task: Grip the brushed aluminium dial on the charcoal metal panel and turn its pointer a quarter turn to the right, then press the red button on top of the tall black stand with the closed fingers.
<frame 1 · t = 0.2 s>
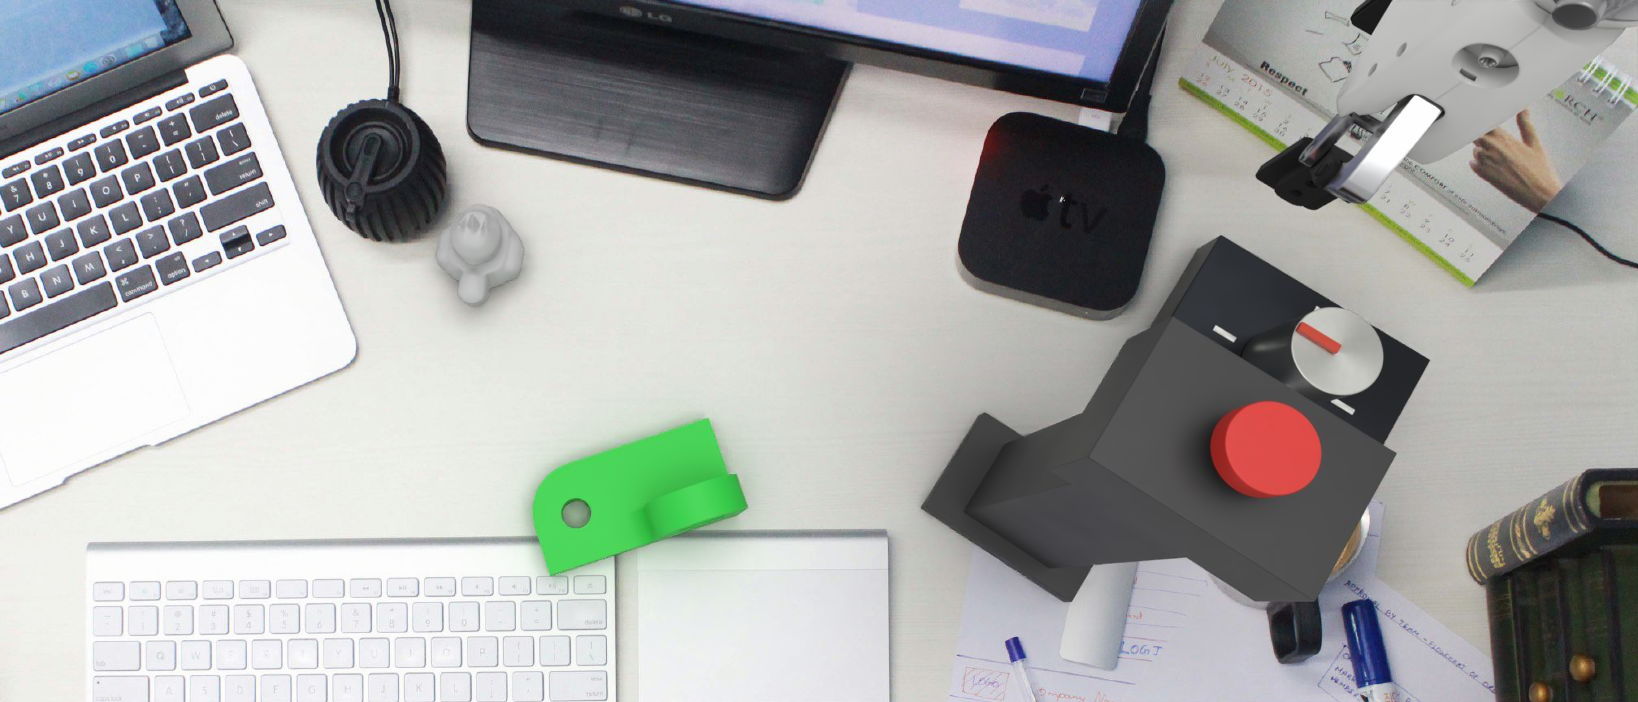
hand: (1332, 110, 58), 19 cm above the table, tool pointing down, fingers open, 9 cm apart
mechanical part: (629, 498, 74), on the table
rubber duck: (483, 268, 77), on the table
dial panel: (1255, 379, 74), on the table
button: (1265, 449, 46), point 28 cm above the table, slide at 0.1 cm
button stand: (1020, 506, 73), on the table
dial: (1310, 360, 68), point 6 cm above the table, hinge at 0.0°
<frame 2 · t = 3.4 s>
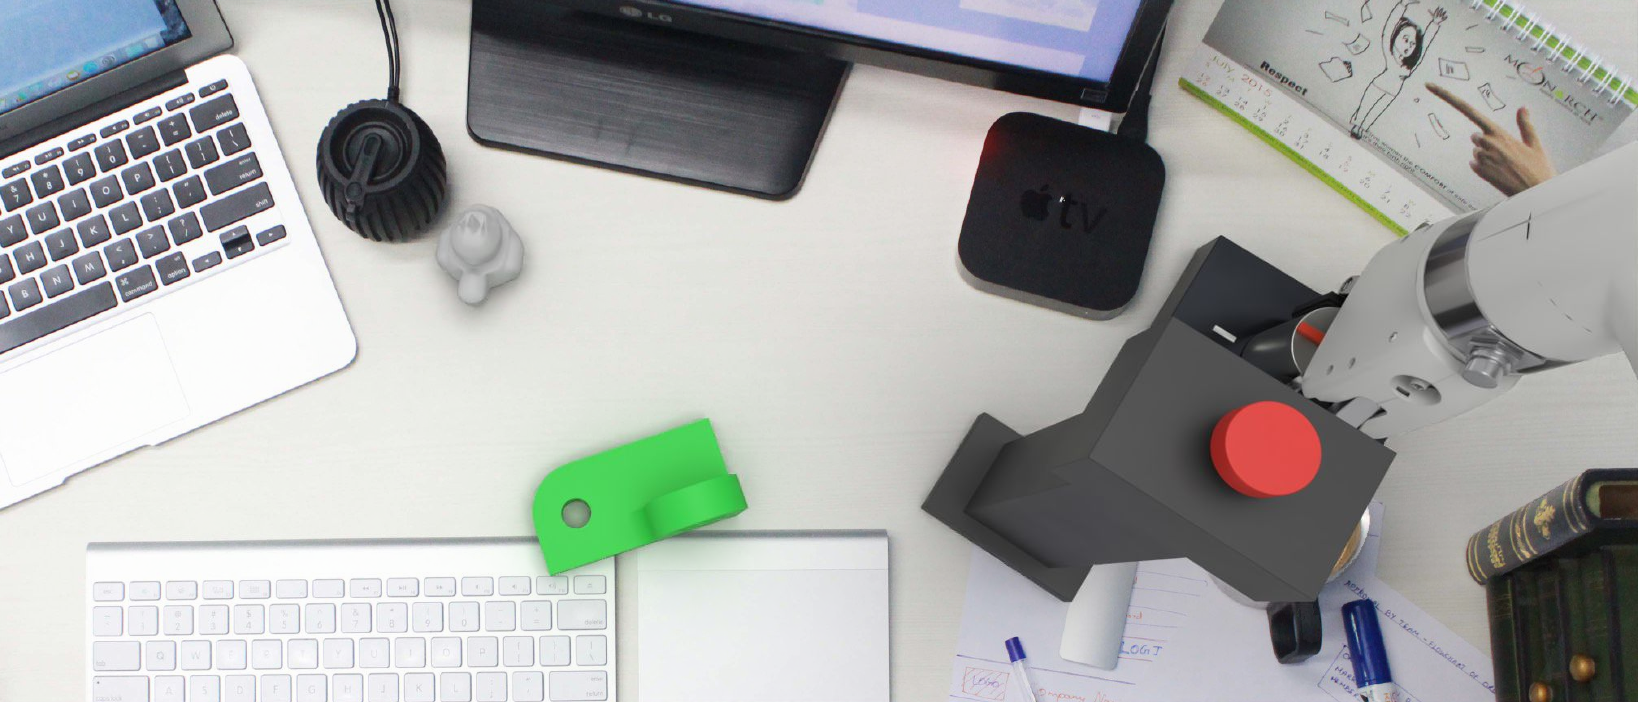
hand: (1293, 365, 70), 4 cm above the table, tool pointing down, fingers closed on dial, 5 cm apart
dial: (1310, 360, 68), point 6 cm above the table, hinge at -0.1°, touching gripper
everything else where it was.
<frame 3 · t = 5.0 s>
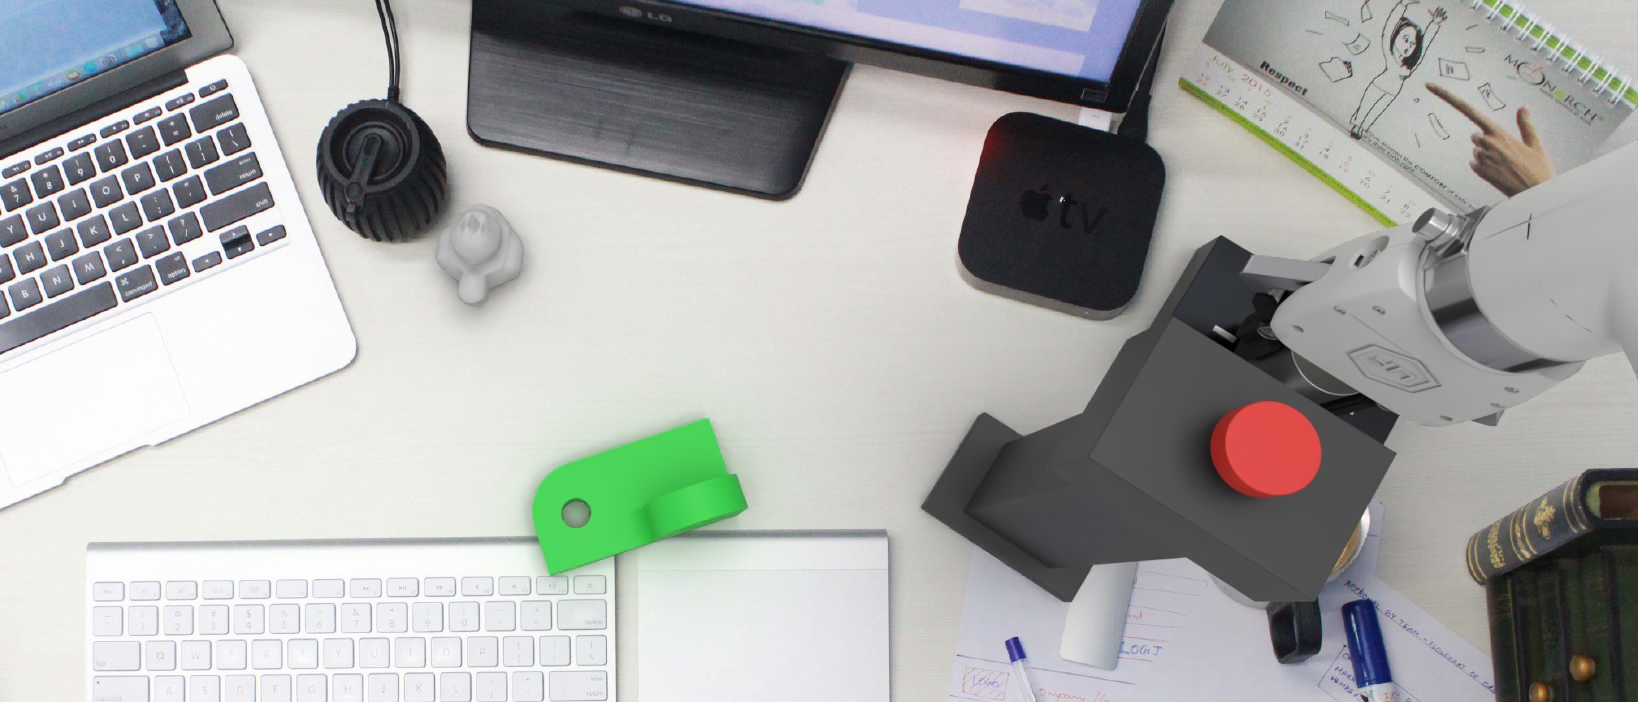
hand: (1293, 365, 70), 4 cm above the table, tool pointing down, fingers closed on dial, 5 cm apart
dial: (1310, 360, 68), point 6 cm above the table, hinge at -90.4°, touching gripper
everything else where it was.
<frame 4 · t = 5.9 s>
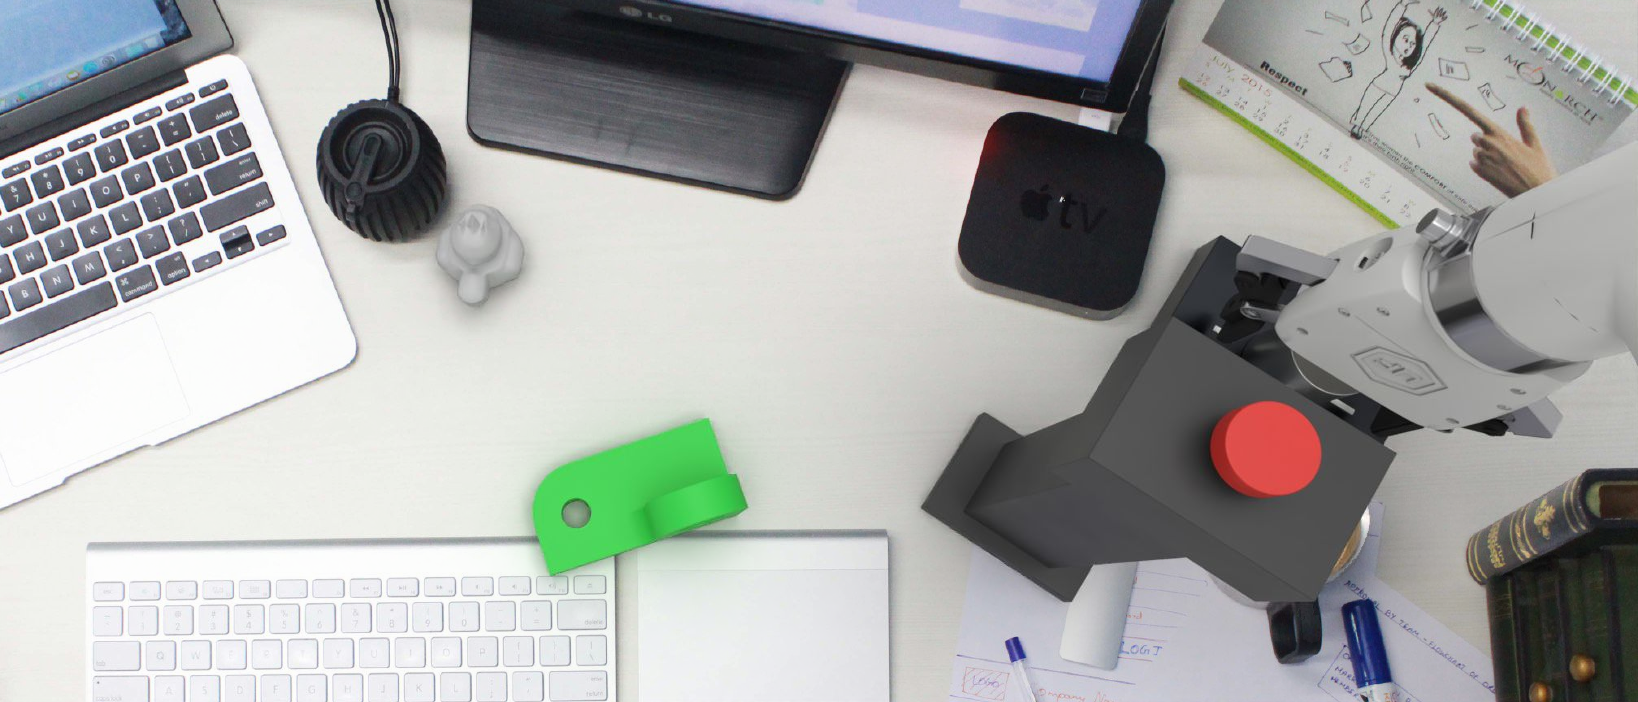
hand: (1307, 366, 69), 5 cm above the table, tool pointing down, fingers open, 9 cm apart
dial: (1310, 360, 68), point 6 cm above the table, hinge at -90.2°
everything else where it was.
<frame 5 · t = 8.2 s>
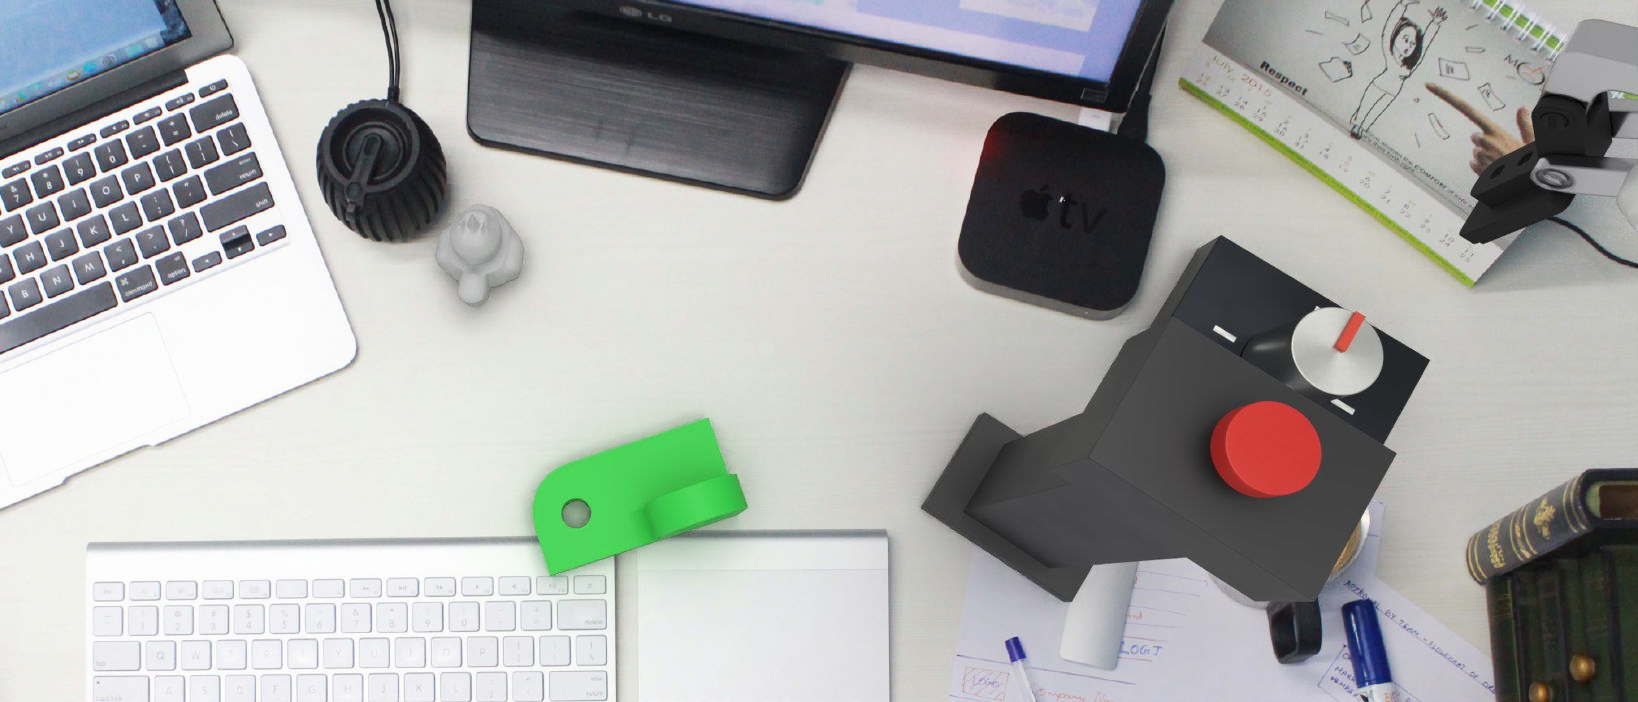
hand: (1617, 287, 40), 34 cm above the table, tool pointing down, fingers open, 9 cm apart
nothing on the table moved.
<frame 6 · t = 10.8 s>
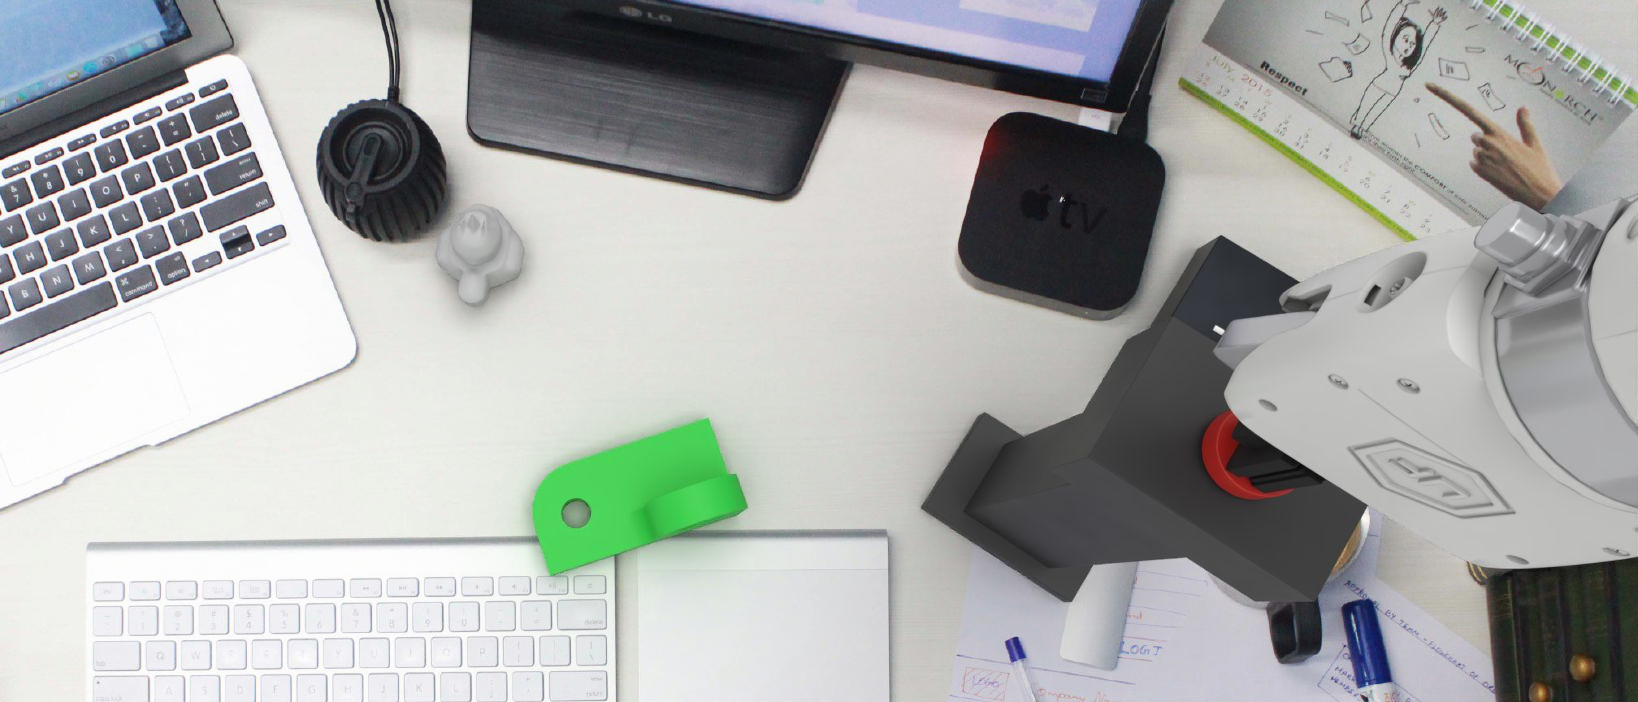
hand: (1261, 448, 46), 28 cm above the table, tool pointing down, fingers closed
button: (1255, 451, 46), point 27 cm above the table, slide at -0.6 cm, touching gripper
everything else where it was.
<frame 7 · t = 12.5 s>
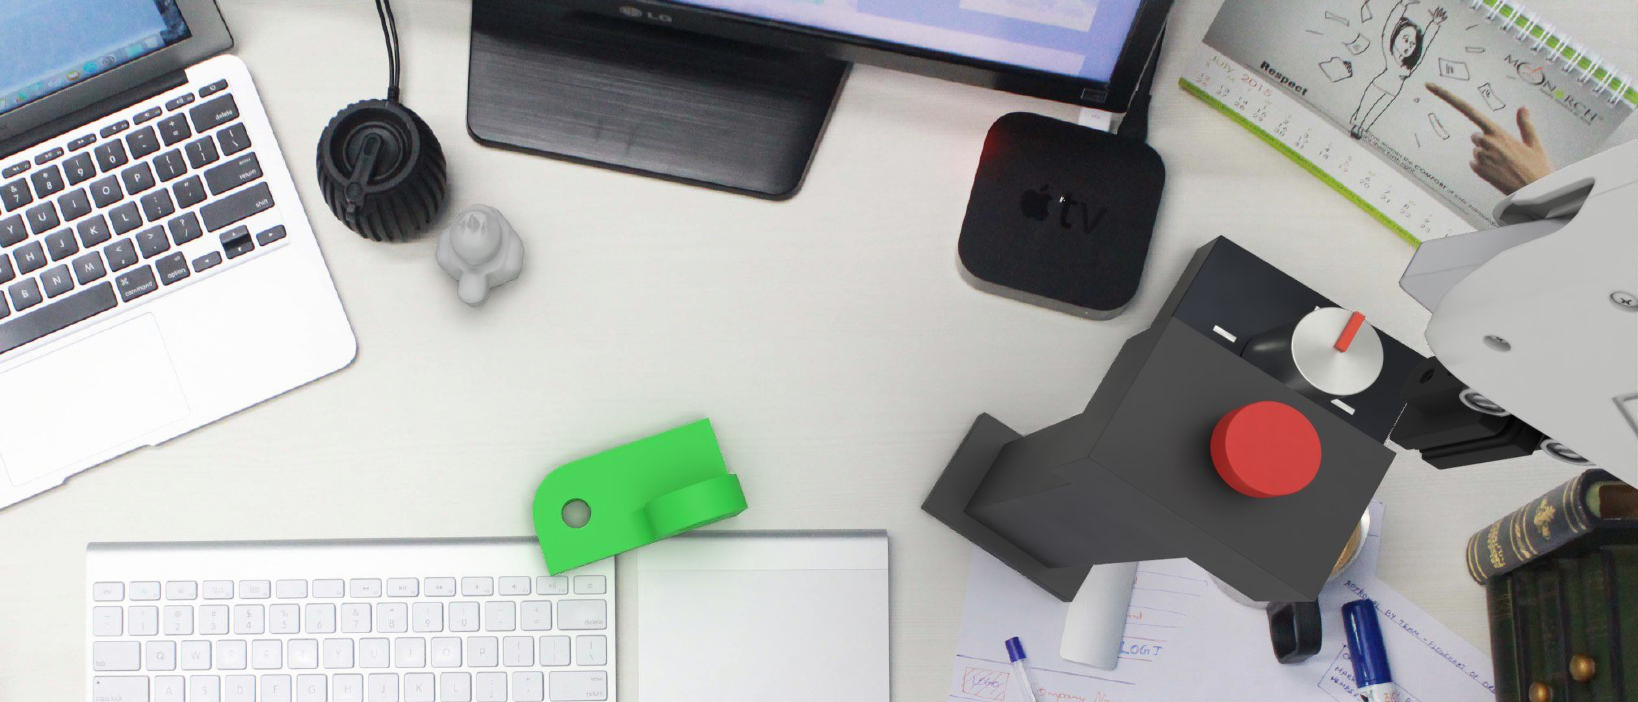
hand: (1433, 413, 37), 37 cm above the table, tool pointing down, fingers closed
button: (1265, 449, 46), point 28 cm above the table, slide at 0.1 cm
everything else where it was.
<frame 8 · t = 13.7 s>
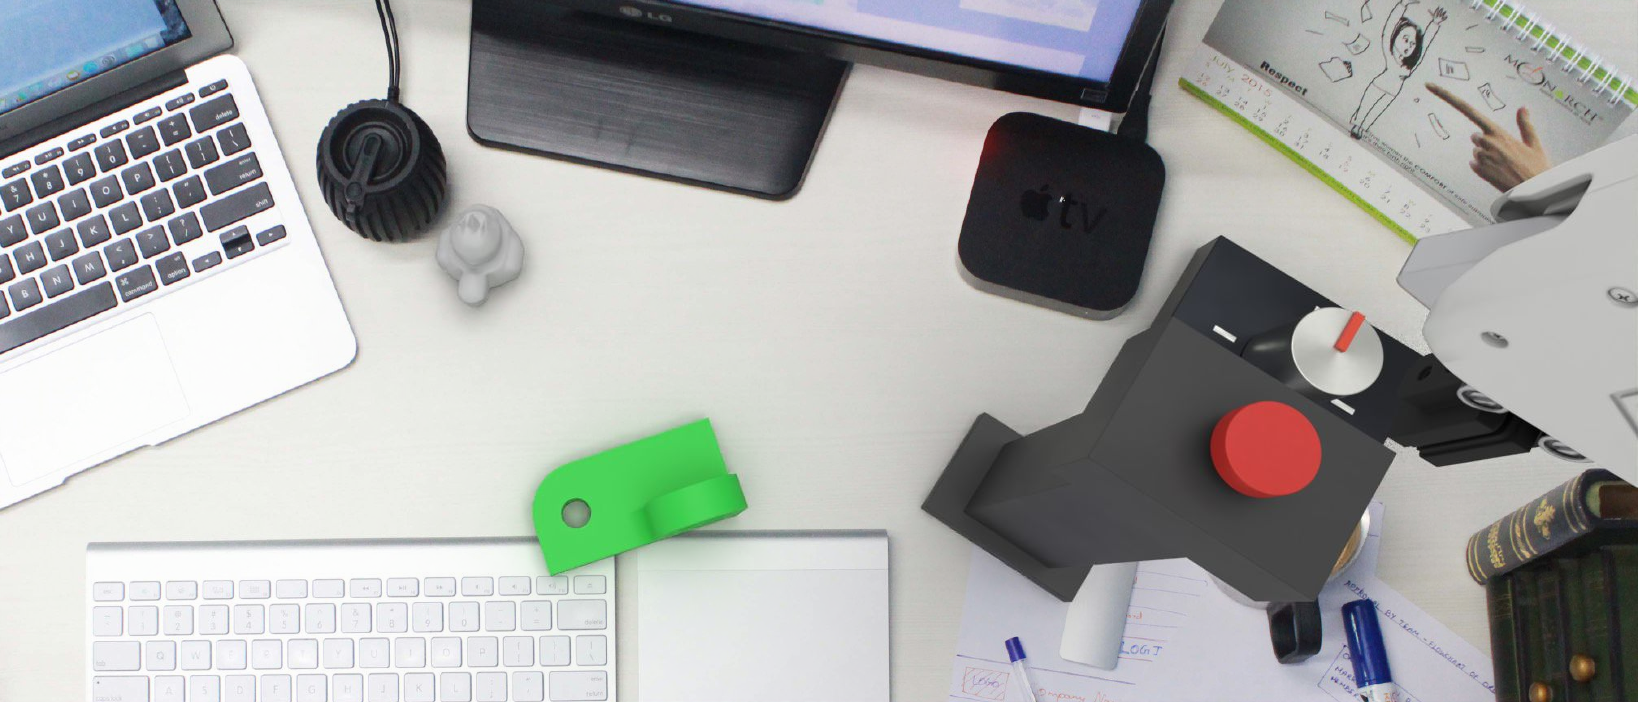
hand: (1431, 410, 36), 37 cm above the table, tool pointing down, fingers closed
nothing on the table moved.
at the end: dial at -90° (first picture: +0°); button pushed in 1.0 cm at the most during the clip, back to where it started at the end; button slide at 0.1 cm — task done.
